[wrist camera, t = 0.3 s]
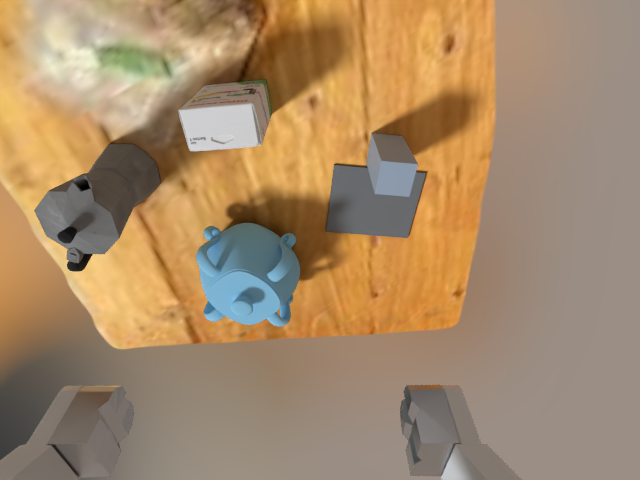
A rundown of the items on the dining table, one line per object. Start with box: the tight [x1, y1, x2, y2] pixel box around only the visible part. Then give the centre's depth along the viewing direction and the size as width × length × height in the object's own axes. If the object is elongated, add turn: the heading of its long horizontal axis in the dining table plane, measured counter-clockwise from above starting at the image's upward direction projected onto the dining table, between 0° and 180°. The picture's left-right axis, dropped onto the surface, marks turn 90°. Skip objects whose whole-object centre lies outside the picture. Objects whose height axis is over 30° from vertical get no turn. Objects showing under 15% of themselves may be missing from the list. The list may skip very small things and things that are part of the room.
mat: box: [326, 164, 426, 238], centre depth 59 cm, size 12×14×1 cm
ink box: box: [178, 79, 272, 151], centre depth 45 cm, size 8×5×12 cm, turn 95°
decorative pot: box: [196, 223, 300, 326], centre depth 60 cm, size 16×16×14 cm
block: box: [366, 133, 418, 197], centre depth 50 cm, size 4×4×10 cm
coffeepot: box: [34, 144, 161, 271], centre depth 49 cm, size 15×9×18 cm, turn 155°
